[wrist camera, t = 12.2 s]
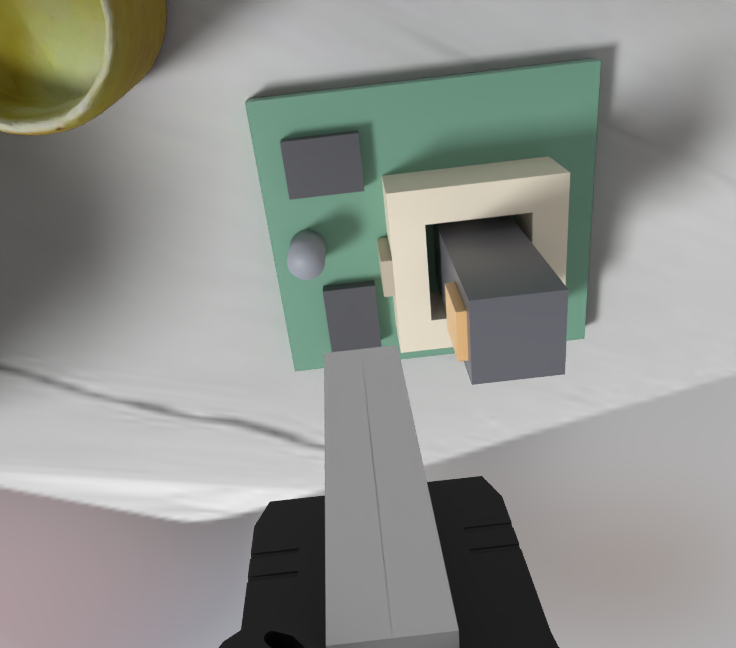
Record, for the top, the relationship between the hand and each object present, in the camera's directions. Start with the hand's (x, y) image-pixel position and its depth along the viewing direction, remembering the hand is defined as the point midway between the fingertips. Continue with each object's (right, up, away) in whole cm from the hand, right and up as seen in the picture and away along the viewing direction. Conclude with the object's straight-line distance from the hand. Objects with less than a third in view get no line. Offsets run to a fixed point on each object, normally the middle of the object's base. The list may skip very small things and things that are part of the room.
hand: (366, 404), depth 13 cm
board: (+4, +7, +23) cm, 25 cm away
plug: (+6, +6, +23) cm, 24 cm away
